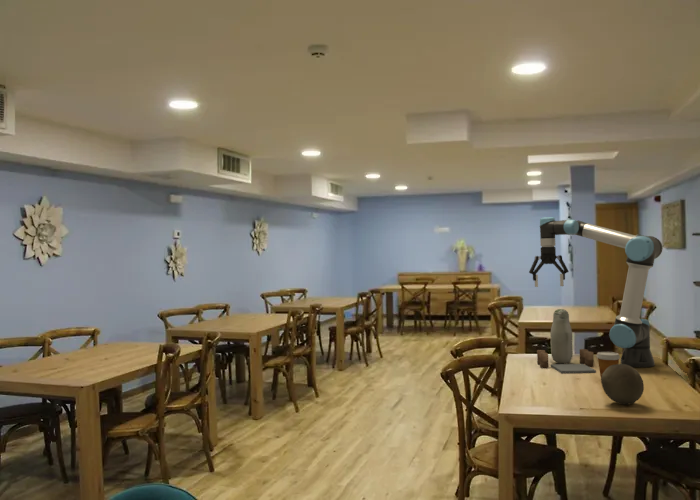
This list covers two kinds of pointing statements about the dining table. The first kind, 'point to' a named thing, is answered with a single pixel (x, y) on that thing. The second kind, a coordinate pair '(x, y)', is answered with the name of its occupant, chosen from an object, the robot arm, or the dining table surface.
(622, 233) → the robot arm
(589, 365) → the cylinder
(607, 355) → the disposable coffee cup
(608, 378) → the coconut
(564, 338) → the grey ceramic vase
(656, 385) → the dining table surface
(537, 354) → the cylinder
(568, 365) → the mat
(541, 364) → the cylinder
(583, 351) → the cylinder
